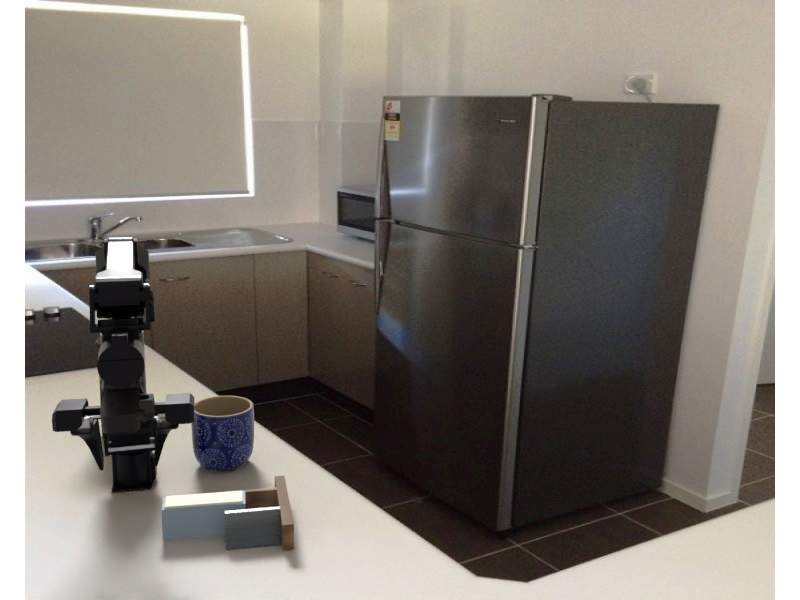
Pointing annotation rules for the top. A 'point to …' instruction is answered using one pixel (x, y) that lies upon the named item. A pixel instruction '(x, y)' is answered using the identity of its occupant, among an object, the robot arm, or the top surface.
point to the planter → (223, 432)
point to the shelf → (274, 499)
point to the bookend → (252, 528)
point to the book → (198, 513)
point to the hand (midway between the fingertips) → (129, 467)
